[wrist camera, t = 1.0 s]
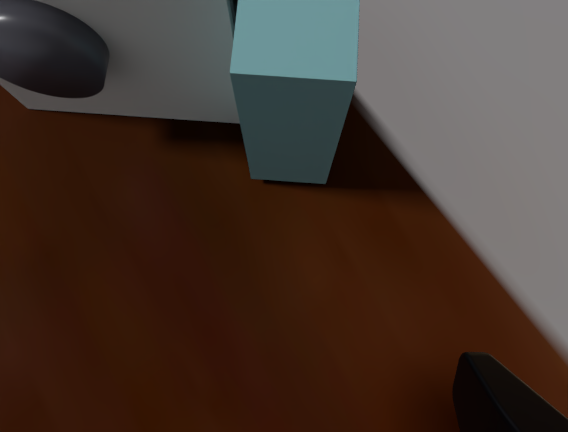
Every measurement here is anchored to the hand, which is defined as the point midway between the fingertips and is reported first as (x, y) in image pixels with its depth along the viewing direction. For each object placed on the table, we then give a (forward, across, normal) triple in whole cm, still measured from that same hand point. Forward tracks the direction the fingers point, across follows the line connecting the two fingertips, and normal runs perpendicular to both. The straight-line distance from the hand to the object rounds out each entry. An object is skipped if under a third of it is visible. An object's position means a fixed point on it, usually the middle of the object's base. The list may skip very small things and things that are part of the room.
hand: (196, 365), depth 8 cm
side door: (+17, -2, -2) cm, 18 cm away
